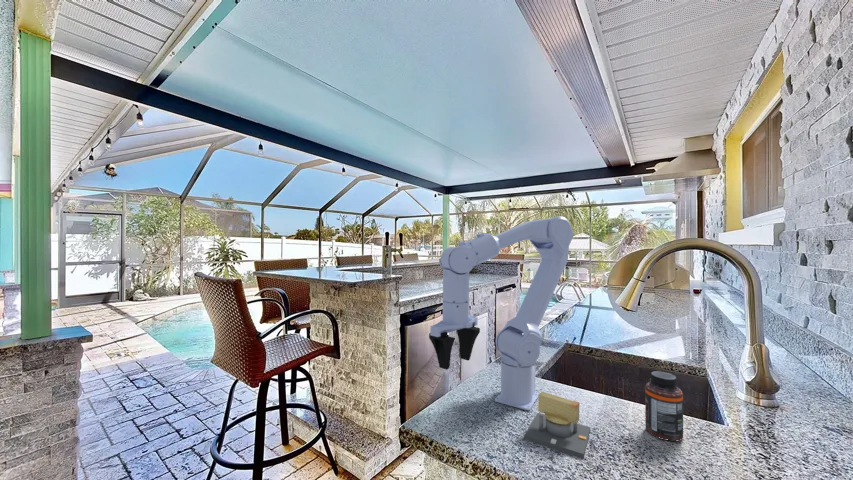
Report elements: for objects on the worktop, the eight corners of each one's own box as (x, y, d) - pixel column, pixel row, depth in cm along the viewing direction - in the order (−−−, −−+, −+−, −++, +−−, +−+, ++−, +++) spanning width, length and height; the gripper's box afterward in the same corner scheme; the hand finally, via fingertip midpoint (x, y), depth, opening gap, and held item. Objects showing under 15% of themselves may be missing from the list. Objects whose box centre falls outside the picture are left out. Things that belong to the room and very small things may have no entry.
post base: (537, 416, 69) (537, 400, 69) (590, 431, 64) (590, 413, 64) (524, 439, 61) (524, 420, 61) (583, 458, 56) (583, 438, 56)
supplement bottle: (647, 422, 68) (647, 366, 68) (683, 432, 64) (683, 374, 64) (643, 434, 63) (643, 375, 63) (682, 447, 59) (682, 383, 60)
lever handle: (535, 417, 63) (535, 396, 63) (544, 408, 67) (544, 388, 67) (573, 430, 58) (573, 408, 58) (581, 420, 62) (581, 399, 62)
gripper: (449, 307, 64) (448, 377, 64) (489, 299, 75) (488, 359, 75) (423, 303, 69) (422, 368, 69) (463, 296, 80) (463, 352, 80)
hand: (455, 363), depth 72 cm, fingers open, 7 cm apart
